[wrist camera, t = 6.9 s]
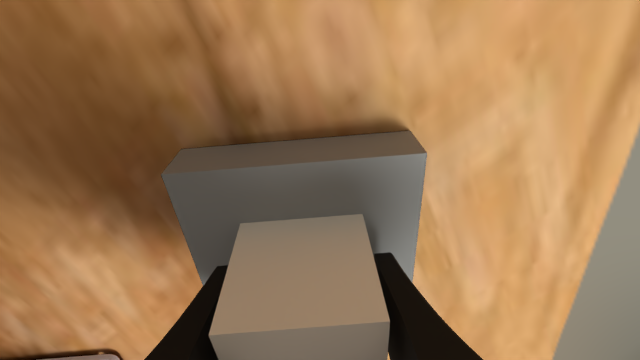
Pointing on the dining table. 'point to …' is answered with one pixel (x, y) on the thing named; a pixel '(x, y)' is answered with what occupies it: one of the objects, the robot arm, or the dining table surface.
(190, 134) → the dining table surface
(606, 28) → the dining table surface
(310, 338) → the cream colored cube
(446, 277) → the dining table surface
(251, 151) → the stud block
